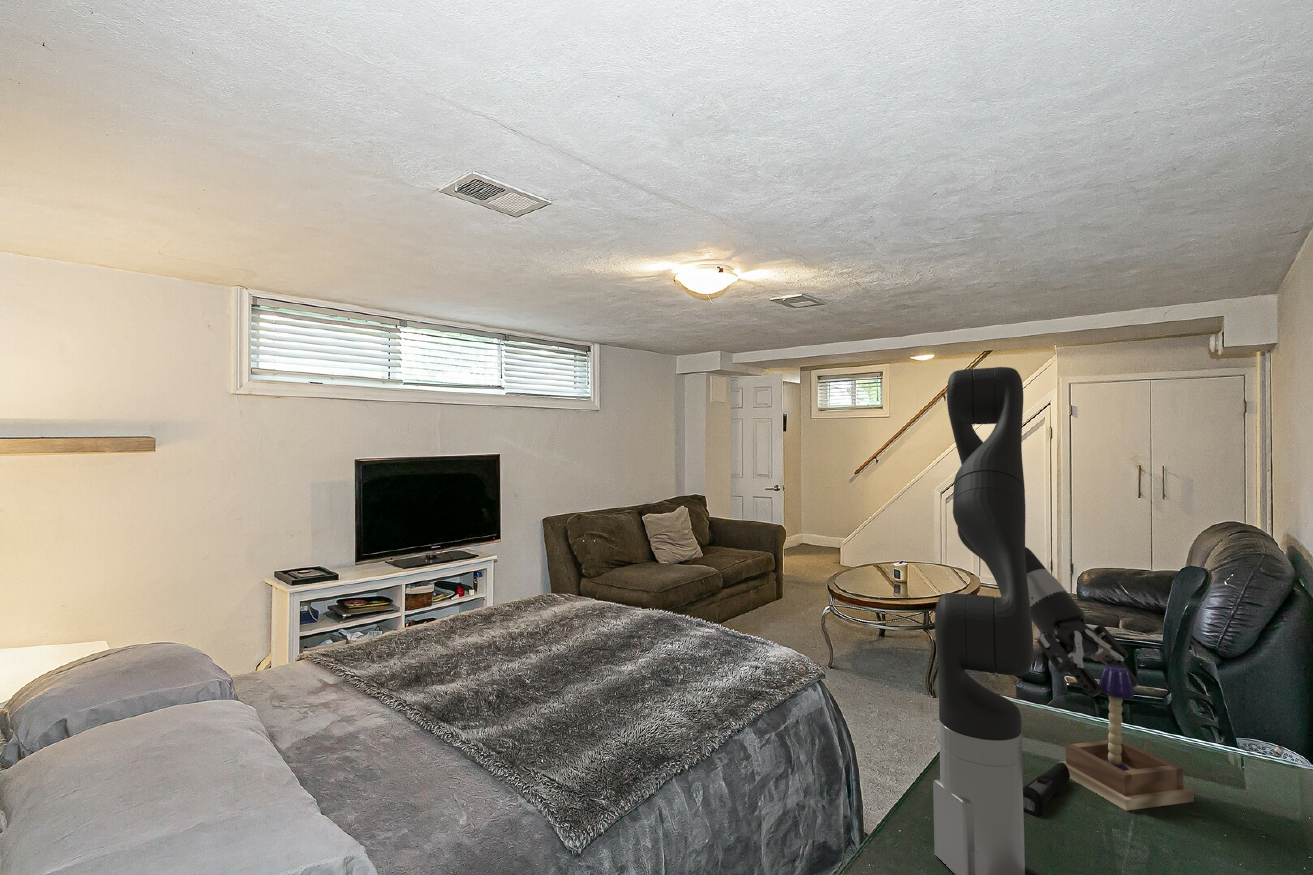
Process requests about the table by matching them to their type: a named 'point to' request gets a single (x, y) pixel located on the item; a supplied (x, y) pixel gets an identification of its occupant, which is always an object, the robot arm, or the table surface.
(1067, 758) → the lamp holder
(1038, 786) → the electric trimmer
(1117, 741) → the toy lamp
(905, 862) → the table surface
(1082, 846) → the table surface
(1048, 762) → the table surface
